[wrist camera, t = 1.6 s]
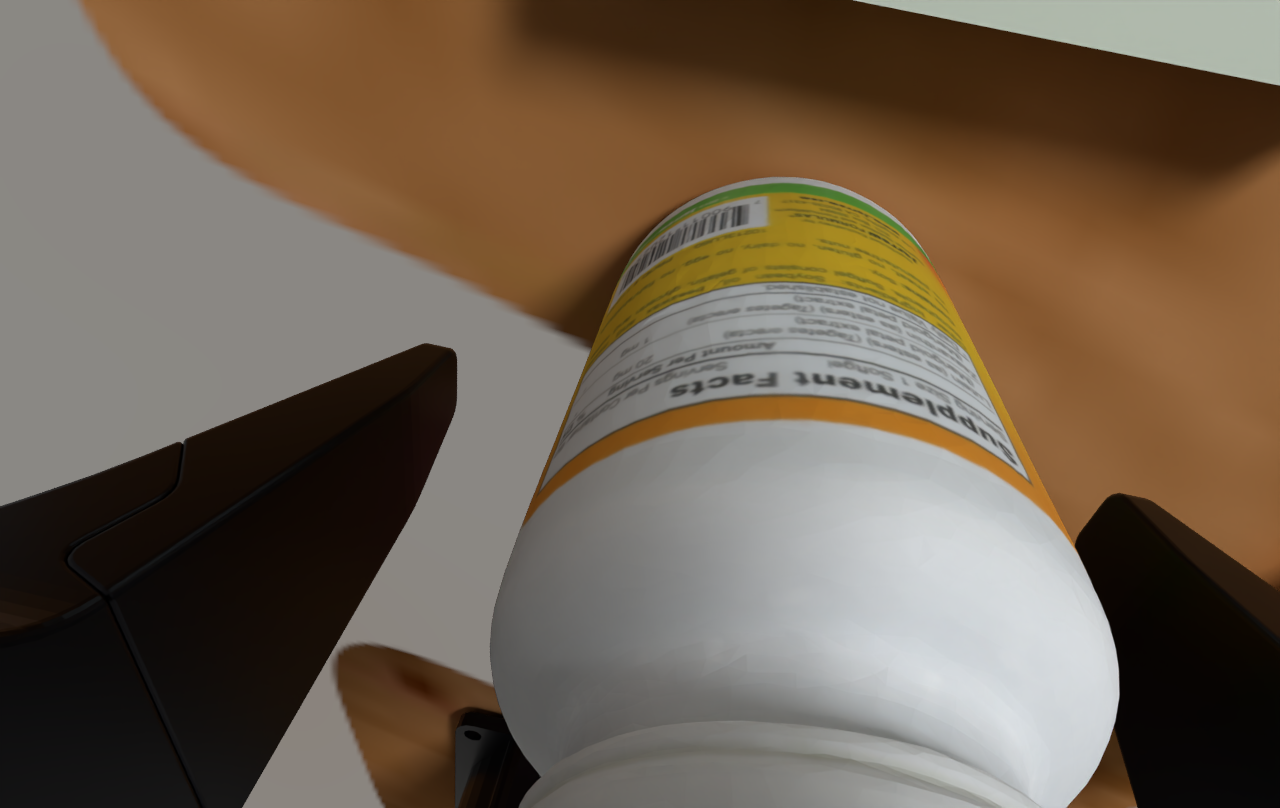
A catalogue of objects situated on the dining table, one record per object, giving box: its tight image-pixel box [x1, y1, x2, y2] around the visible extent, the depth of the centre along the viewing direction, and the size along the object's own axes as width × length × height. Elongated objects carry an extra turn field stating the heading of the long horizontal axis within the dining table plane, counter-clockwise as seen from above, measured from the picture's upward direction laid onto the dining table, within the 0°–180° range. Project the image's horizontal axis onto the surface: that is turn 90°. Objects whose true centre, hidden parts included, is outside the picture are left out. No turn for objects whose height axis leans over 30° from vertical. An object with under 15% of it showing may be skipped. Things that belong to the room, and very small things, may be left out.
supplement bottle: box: [490, 177, 1119, 808], centre depth 8 cm, size 5×5×10 cm
